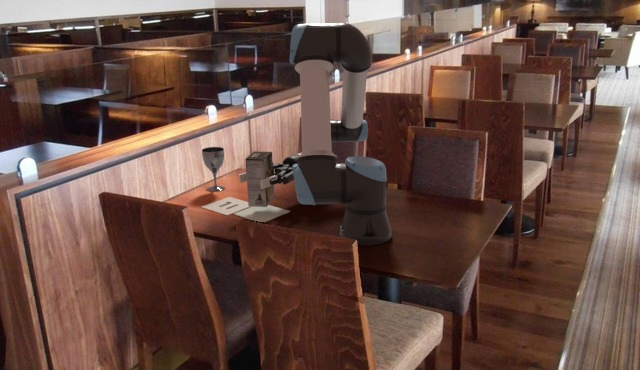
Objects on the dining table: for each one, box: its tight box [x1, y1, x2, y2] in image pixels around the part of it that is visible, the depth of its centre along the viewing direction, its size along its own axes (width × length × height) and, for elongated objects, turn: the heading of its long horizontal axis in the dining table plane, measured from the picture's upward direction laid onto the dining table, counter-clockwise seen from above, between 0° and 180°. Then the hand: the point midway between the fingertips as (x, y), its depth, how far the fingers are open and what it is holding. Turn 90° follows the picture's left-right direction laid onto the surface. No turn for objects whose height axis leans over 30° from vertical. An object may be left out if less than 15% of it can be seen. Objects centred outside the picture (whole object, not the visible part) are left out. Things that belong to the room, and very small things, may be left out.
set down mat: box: [233, 204, 291, 223], centre depth 195 cm, size 13×13×1 cm
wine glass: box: [201, 146, 226, 193], centre depth 218 cm, size 8×8×15 cm
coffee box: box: [245, 151, 275, 207], centre depth 192 cm, size 9×6×16 cm
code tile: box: [201, 196, 252, 216], centre depth 202 cm, size 13×13×1 cm
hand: (250, 181), depth 188 cm, fingers closed on coffee box, 9 cm apart
